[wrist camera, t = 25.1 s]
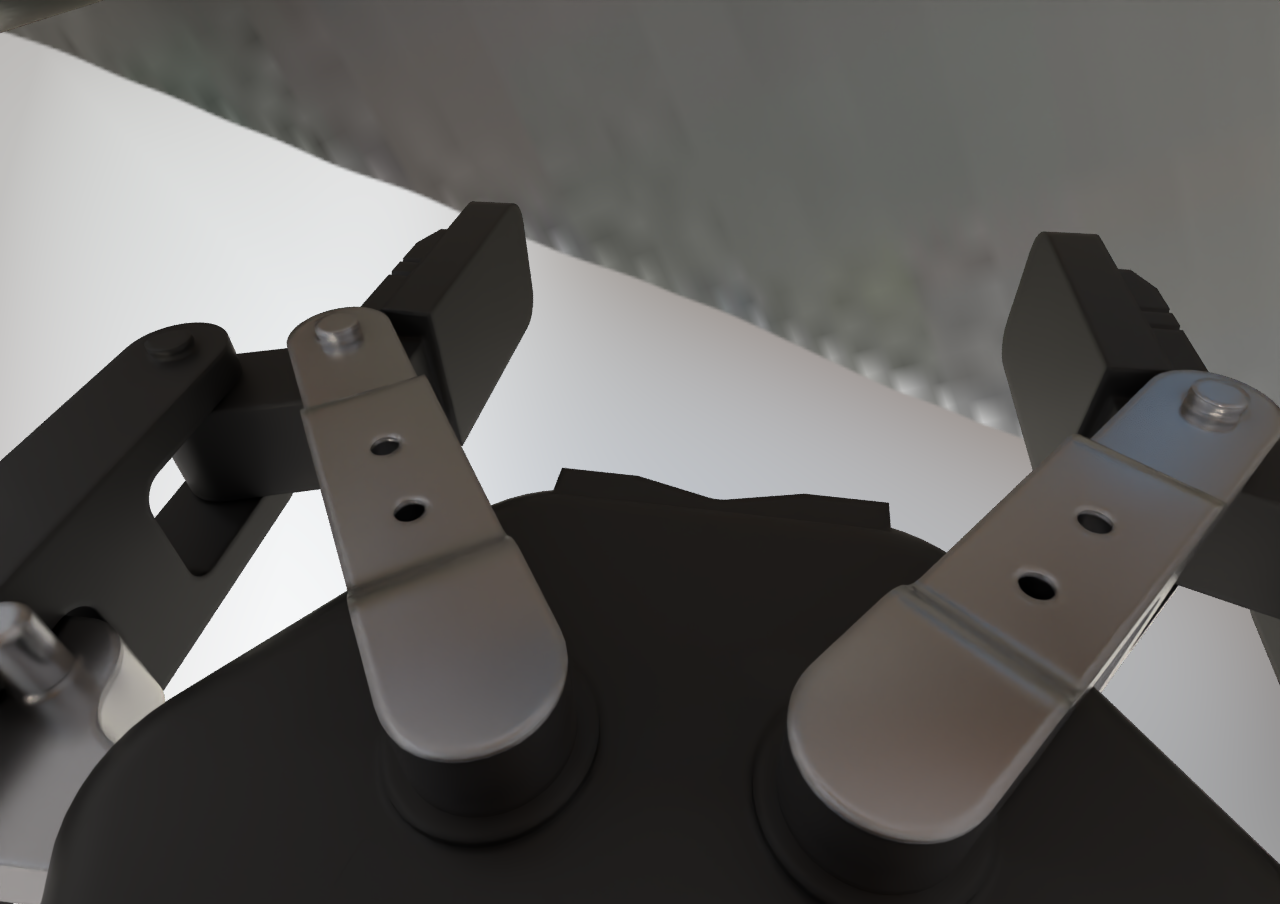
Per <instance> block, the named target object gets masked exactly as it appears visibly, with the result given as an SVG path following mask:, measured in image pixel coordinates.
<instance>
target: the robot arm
mask: <svg viewBox="0 0 1280 904" xmlns="http://www.w3.org/2000/svg"><path fill="white" fill-rule="evenodd" d="M100 1H103V0H0V33H2V32H5V31H8V30H11V29H15V28H18V27H21V26H24V25H27V24H30V23H34V22H37V21H40V20H43V19H46V18H49V17H52V16H56V15H59V14H62V13H65V12H68V11H71V10H75V9H78V8H81V7H84V6H87V5H90V4H93V3H97V2H100ZM532 308H533V290H532V282H531V274H530V267H529V260H528V253H527V245H526V238H525V231H524V223H523V218H522V214H521V211H520V209H519V207H518V205H516V204H514V203H494V202H475V201H472V202H470V203H469V204H468V205H467V206H466V207H465V209H464V210H463V211H462V212H461V213H460V215H459V216H458V217H457V218H456V219H455V221H454V222H453V223H452V224H451V225H450V226H449V228H448V229H440V230H439V231H437V232H435V233H434V234H431V235H430V236H428V237H426V238H424V239H422V240H421V241H419V242H417V243H416V244H415V246H414V247H413V248H412V249H411V250H410V251H409V252H408V253H407V255H406V256H405V257H404V258H403V262H399V264H398V265H397V266H396V267H395V268H394V269H393V270H392V275H388V276H387V277H386V278H385V280H384V281H383V282H382V283H381V284H380V285H379V286H378V287H377V289H376V290H375V291H374V292H373V293H372V294H371V295H370V297H369V298H368V299H367V300H366V301H365V302H364V304H363V305H362V306H361V307H346V308H338V309H334V310H329V311H326V312H323V313H320V314H317V315H315V316H313V317H311V318H309V319H307V320H305V321H304V322H302V323H301V324H299V325H298V326H297V327H296V328H295V329H294V330H293V331H292V332H291V333H290V335H289V337H288V340H287V348H285V349H277V350H269V351H259V352H250V353H242V354H236V352H235V349H234V347H233V345H232V343H231V341H230V338H229V336H228V334H227V332H226V331H225V330H224V329H223V328H221V327H219V326H217V325H214V324H209V323H184V324H179V325H174V326H170V327H166V328H163V329H160V330H157V331H155V332H152V333H150V334H147V335H145V336H143V337H141V338H140V339H138V340H136V341H135V342H133V343H132V344H131V345H129V346H128V347H127V348H126V349H125V350H123V351H122V352H121V353H120V354H119V355H118V356H117V357H116V358H114V359H113V360H112V361H111V362H110V363H109V364H108V365H107V366H106V367H104V368H103V369H102V370H101V371H100V372H99V373H98V374H97V375H96V376H94V377H93V378H92V379H91V380H90V381H89V382H88V383H87V384H86V385H84V386H83V387H82V388H81V389H80V390H79V391H78V392H77V393H76V394H75V395H73V396H72V397H71V398H70V399H69V400H68V401H67V402H65V403H64V404H63V405H62V406H61V407H60V408H59V409H58V410H57V411H56V412H54V413H53V414H52V415H51V416H50V417H49V418H48V419H47V420H46V421H44V422H43V423H42V424H41V425H40V426H39V427H38V428H37V429H35V430H34V432H32V433H31V434H30V435H29V436H28V437H26V438H25V439H24V440H23V441H22V442H21V443H20V444H19V445H18V446H16V447H15V448H14V449H13V450H12V451H11V452H10V453H9V454H8V455H6V456H5V457H4V458H3V459H2V460H1V461H0V904H13V903H18V904H1280V864H1279V863H1278V862H1277V861H1276V860H1275V859H1274V858H1273V857H1272V856H1271V855H1269V853H1267V852H1266V851H1265V850H1264V849H1263V848H1262V847H1261V846H1260V845H1259V844H1258V843H1257V842H1256V841H1255V840H1254V839H1253V838H1252V837H1251V836H1250V835H1249V834H1248V833H1247V832H1246V831H1245V830H1243V829H1242V828H1241V827H1240V826H1239V825H1238V824H1237V823H1236V822H1235V821H1234V820H1233V819H1232V818H1231V817H1230V816H1229V815H1228V814H1227V813H1226V812H1224V811H1223V810H1222V808H1220V807H1219V806H1218V805H1217V804H1216V803H1215V802H1214V801H1213V800H1212V799H1211V798H1210V797H1209V796H1208V795H1207V794H1206V793H1205V792H1204V791H1203V790H1202V789H1201V788H1199V786H1197V785H1196V784H1195V783H1194V782H1193V781H1192V780H1191V779H1190V778H1189V777H1188V776H1187V775H1186V774H1185V773H1184V772H1183V771H1182V770H1181V769H1180V768H1179V767H1178V766H1176V764H1174V763H1173V762H1172V761H1171V760H1170V759H1169V758H1168V757H1167V756H1166V755H1165V754H1164V753H1163V752H1162V751H1161V750H1160V749H1159V748H1158V747H1157V746H1156V745H1155V744H1154V743H1152V741H1150V740H1149V739H1148V738H1147V737H1146V736H1145V735H1144V734H1143V733H1142V732H1141V731H1140V730H1139V729H1138V728H1137V727H1136V726H1135V725H1134V724H1133V723H1132V722H1131V721H1130V720H1128V719H1127V718H1126V717H1125V716H1124V715H1123V714H1122V713H1121V712H1120V711H1119V710H1118V709H1117V708H1116V707H1115V706H1114V705H1113V704H1112V703H1110V701H1109V700H1108V699H1107V698H1105V697H1104V696H1103V695H1102V694H1101V692H1102V691H1103V690H1104V688H1105V687H1106V686H1107V684H1108V683H1109V681H1110V680H1111V678H1112V677H1113V676H1114V674H1115V673H1116V672H1117V670H1118V669H1119V667H1120V666H1121V665H1122V663H1123V662H1124V661H1125V659H1126V658H1127V657H1128V655H1129V654H1130V653H1131V651H1132V650H1133V648H1134V647H1135V646H1136V644H1137V643H1138V642H1139V640H1140V639H1141V638H1142V636H1143V635H1144V634H1145V632H1146V631H1147V629H1148V628H1149V627H1150V625H1151V624H1152V623H1153V621H1154V620H1155V618H1156V617H1157V616H1158V615H1159V613H1160V612H1161V610H1162V609H1163V607H1164V606H1165V605H1166V604H1167V602H1168V601H1169V600H1170V598H1171V597H1172V595H1173V594H1174V593H1175V591H1176V590H1177V588H1178V587H1179V585H1180V586H1183V587H1186V588H1188V589H1191V590H1194V591H1197V592H1200V593H1203V594H1206V595H1209V596H1212V597H1215V598H1218V599H1221V600H1224V601H1227V602H1230V603H1233V604H1236V605H1239V606H1241V607H1245V608H1248V609H1250V612H1251V615H1252V618H1253V621H1254V623H1255V626H1256V628H1257V631H1258V633H1259V635H1260V638H1261V640H1262V643H1263V645H1264V647H1265V650H1266V652H1267V655H1268V657H1269V660H1270V662H1271V665H1272V667H1273V669H1274V672H1275V674H1276V677H1277V679H1278V682H1279V684H1280V408H1279V407H1278V406H1277V405H1276V404H1275V403H1274V402H1273V401H1272V400H1271V399H1270V398H1268V397H1267V396H1266V395H1264V394H1263V393H1261V392H1260V391H1258V390H1257V389H1255V388H1253V387H1251V386H1249V385H1247V384H1245V383H1242V382H1240V381H1238V380H1235V379H1232V378H1229V377H1226V376H1223V375H1219V374H1215V373H1210V372H1208V370H1207V369H1206V367H1205V365H1204V364H1203V362H1202V361H1201V359H1200V357H1199V356H1198V354H1197V352H1196V351H1195V349H1194V348H1193V346H1192V344H1191V343H1190V341H1189V339H1188V338H1187V336H1186V335H1185V333H1184V331H1183V330H1179V328H1180V325H1179V323H1178V322H1177V320H1176V318H1175V317H1174V315H1173V314H1172V313H1169V310H1170V309H1169V307H1168V305H1167V304H1166V302H1165V301H1164V299H1163V297H1162V296H1161V294H1160V293H1159V291H1158V289H1157V288H1155V287H1154V286H1153V285H1151V284H1150V283H1148V282H1147V281H1146V280H1144V279H1143V278H1141V277H1140V276H1138V275H1137V274H1136V273H1134V272H1133V271H1131V270H1124V269H1118V268H1117V266H1116V265H1115V263H1114V261H1113V259H1112V258H1111V256H1110V254H1109V252H1108V250H1107V249H1106V247H1105V245H1104V243H1103V242H1102V240H1101V238H1100V237H1099V235H1097V234H1081V233H1061V232H1041V233H1040V234H1039V235H1038V236H1037V237H1036V239H1035V241H1034V243H1033V245H1032V248H1031V251H1030V253H1029V256H1028V260H1027V263H1026V266H1025V269H1024V272H1023V275H1022V278H1021V281H1020V284H1019V287H1018V290H1017V293H1016V296H1015V299H1014V302H1013V305H1012V308H1011V311H1010V314H1009V317H1008V320H1007V324H1006V327H1005V331H1004V337H1003V344H1002V361H1003V366H1004V370H1005V373H1006V377H1007V380H1008V384H1009V387H1010V391H1011V394H1012V398H1013V402H1014V405H1015V409H1016V412H1017V416H1018V419H1019V423H1020V426H1021V430H1022V434H1023V437H1024V441H1025V444H1026V448H1027V451H1028V455H1029V458H1030V462H1031V465H1032V469H1033V471H1032V472H1031V473H1030V474H1029V475H1028V476H1027V477H1026V478H1025V479H1024V480H1022V481H1021V482H1020V483H1019V484H1018V485H1017V486H1016V487H1015V488H1014V489H1013V490H1012V491H1011V492H1010V493H1009V494H1008V495H1007V496H1006V497H1005V498H1004V499H1003V500H1002V501H1000V502H999V503H998V504H997V505H996V506H995V507H994V508H993V509H992V510H991V511H990V512H989V513H988V514H987V515H986V516H985V517H984V518H983V519H982V520H980V521H979V523H977V524H976V525H975V526H974V527H973V528H972V529H971V530H970V531H969V532H968V533H967V534H966V535H965V536H964V537H963V538H962V539H961V540H960V541H959V542H957V544H955V545H954V546H953V547H952V548H951V549H950V550H949V551H948V552H947V553H946V552H945V551H943V550H941V549H940V548H938V547H936V546H934V545H932V544H930V543H928V542H926V541H924V540H922V539H920V538H917V537H915V536H912V535H910V534H908V533H905V532H902V531H899V530H896V529H893V528H891V526H890V513H889V503H886V502H876V501H866V500H858V499H847V498H839V497H830V496H820V495H810V494H795V495H784V496H769V497H756V498H742V499H729V500H719V499H712V498H708V497H705V496H701V495H698V494H695V493H692V492H689V491H685V490H682V489H679V488H676V487H672V486H669V485H666V484H663V483H659V482H656V481H653V480H650V479H646V478H643V477H640V476H633V475H624V474H615V473H605V472H595V471H586V470H577V469H568V468H562V470H561V472H560V475H559V477H558V480H557V482H556V485H555V488H554V490H552V491H542V492H536V493H530V494H525V495H521V496H518V497H514V498H510V499H507V500H504V501H502V502H499V503H496V504H493V505H490V503H489V501H488V499H487V497H486V495H485V493H484V491H483V489H482V487H481V485H480V483H479V481H478V479H477V477H476V475H475V473H474V471H473V469H472V467H471V465H470V463H469V461H468V459H467V457H466V455H465V453H464V451H463V449H462V447H461V446H463V444H464V442H465V440H466V439H467V437H468V435H469V433H470V431H471V430H472V428H473V426H474V424H475V422H476V420H477V419H478V417H479V415H480V413H481V411H482V409H483V408H484V406H485V404H486V402H487V400H488V398H489V397H490V395H491V393H492V391H493V389H494V387H495V386H496V384H497V382H498V380H499V378H500V377H501V375H502V373H503V371H504V369H505V368H506V365H507V364H508V362H509V360H510V358H511V356H512V355H513V353H514V351H515V349H516V348H517V346H518V344H519V342H520V340H521V338H522V336H523V335H524V333H525V331H526V329H527V327H528V325H529V322H530V319H531V315H532ZM171 458H173V459H174V461H175V463H176V465H177V466H178V468H179V470H180V472H181V473H182V475H183V477H184V479H185V480H186V481H185V482H184V483H183V484H182V486H181V487H180V488H179V489H178V491H177V492H176V493H175V494H174V495H173V497H172V498H171V499H170V500H169V501H168V503H167V504H166V505H165V506H164V508H163V509H162V510H161V511H160V512H159V514H158V515H157V516H156V517H155V518H154V516H153V514H152V512H151V510H150V505H149V492H150V487H151V484H152V482H153V480H154V478H155V476H156V475H157V474H158V472H159V471H160V470H161V469H162V468H163V467H164V466H165V464H166V463H167V462H168V461H169V460H170V459H171ZM317 489H321V493H322V496H323V500H324V503H325V507H326V511H327V515H328V519H329V523H330V526H331V530H332V534H333V538H334V541H335V545H336V549H337V552H338V556H339V560H340V564H341V568H342V571H343V575H344V579H345V582H346V586H347V591H346V592H344V593H343V594H341V595H339V596H338V597H336V598H335V599H333V600H331V601H330V602H328V603H326V604H325V605H323V606H321V607H320V608H318V609H317V610H315V611H313V612H312V613H310V614H308V615H307V616H305V617H303V618H302V619H300V620H299V621H297V622H295V623H294V624H292V625H290V626H289V627H287V628H285V629H284V630H282V631H281V632H279V633H277V634H276V635H274V636H272V637H271V638H270V639H267V640H266V641H264V642H263V643H261V644H259V645H258V646H256V647H254V648H253V649H251V650H249V651H248V652H246V653H244V654H243V655H241V656H240V657H238V658H236V659H235V660H233V661H231V662H230V663H228V664H227V665H225V666H223V667H222V668H220V669H218V670H217V671H215V672H214V673H212V674H210V675H208V676H207V677H205V678H204V679H202V680H200V681H199V682H197V683H196V684H194V685H192V686H191V687H189V688H187V689H186V690H184V691H182V692H181V693H179V694H177V695H176V696H174V697H172V698H171V699H169V700H168V701H166V702H165V697H164V693H163V690H164V689H165V688H166V686H167V685H168V683H169V682H170V680H171V678H172V677H173V676H174V674H175V673H176V671H177V669H178V668H179V666H180V665H181V663H182V662H183V660H184V659H185V657H186V656H187V654H188V653H189V651H190V650H191V648H192V647H193V645H194V644H195V642H196V641H197V639H198V637H199V636H200V635H201V633H202V632H203V630H204V628H205V627H206V625H207V624H208V622H209V621H210V619H211V618H212V616H213V615H214V613H215V612H216V610H217V609H218V607H219V606H220V604H221V603H222V601H223V599H224V598H225V596H226V595H227V594H228V592H229V591H230V589H231V588H232V586H233V584H234V583H235V581H236V580H237V578H238V577H239V575H240V574H241V572H242V571H243V569H244V568H245V566H246V565H247V563H248V562H249V560H250V559H251V557H252V555H253V554H254V553H255V551H256V550H257V548H258V547H259V545H260V544H261V542H262V540H263V539H264V537H265V536H266V534H267V533H268V531H269V530H270V528H271V527H272V525H273V524H274V522H275V521H276V519H277V518H278V516H279V515H280V513H281V511H282V510H283V509H284V507H285V506H286V504H287V503H288V501H289V499H290V498H291V496H292V494H293V493H294V492H301V491H309V490H317Z"/></svg>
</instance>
